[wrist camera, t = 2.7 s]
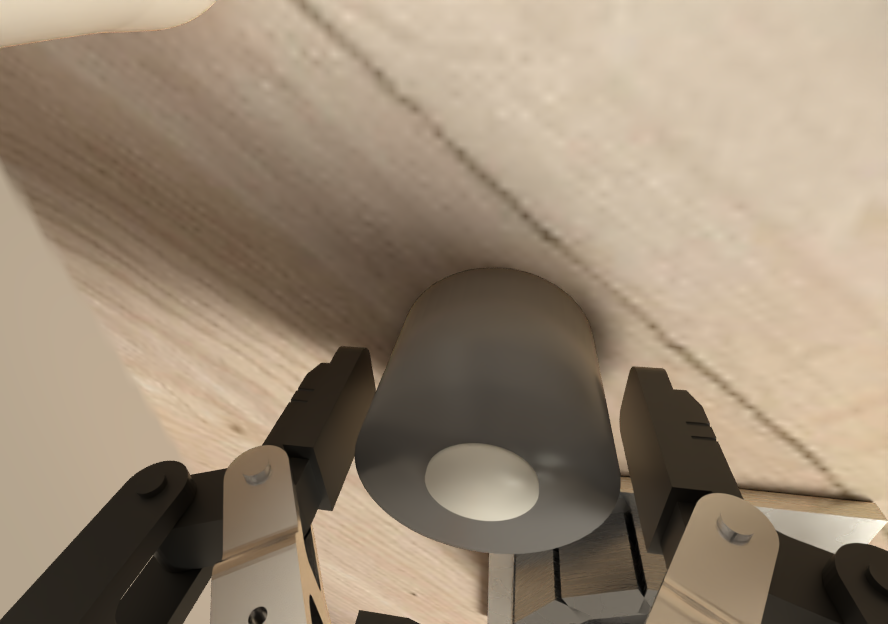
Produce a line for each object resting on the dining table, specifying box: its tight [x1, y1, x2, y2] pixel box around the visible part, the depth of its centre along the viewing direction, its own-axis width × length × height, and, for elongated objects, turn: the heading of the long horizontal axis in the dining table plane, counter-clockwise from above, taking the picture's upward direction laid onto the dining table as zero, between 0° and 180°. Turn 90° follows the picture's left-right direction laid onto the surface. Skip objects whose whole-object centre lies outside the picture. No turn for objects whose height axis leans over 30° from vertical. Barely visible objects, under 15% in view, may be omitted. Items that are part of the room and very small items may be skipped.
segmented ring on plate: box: [488, 477, 888, 624], centre depth 17 cm, size 12×12×3 cm
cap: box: [355, 268, 621, 554], centre depth 11 cm, size 6×6×5 cm
